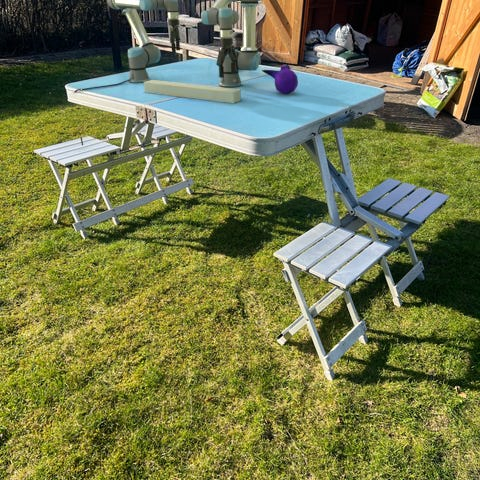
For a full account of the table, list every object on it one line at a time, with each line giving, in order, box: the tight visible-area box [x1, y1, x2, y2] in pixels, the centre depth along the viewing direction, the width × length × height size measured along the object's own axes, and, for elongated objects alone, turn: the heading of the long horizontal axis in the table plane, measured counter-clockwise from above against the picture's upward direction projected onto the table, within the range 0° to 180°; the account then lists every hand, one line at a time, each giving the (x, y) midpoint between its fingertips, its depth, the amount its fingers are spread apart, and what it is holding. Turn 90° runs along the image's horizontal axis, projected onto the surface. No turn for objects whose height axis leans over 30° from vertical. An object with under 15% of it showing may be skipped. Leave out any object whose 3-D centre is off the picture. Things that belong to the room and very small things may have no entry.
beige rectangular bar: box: [143, 79, 242, 104], centre depth 292 cm, size 71×9×7 cm, turn 59°
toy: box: [261, 64, 299, 95], centre depth 294 cm, size 16×18×27 cm
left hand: (176, 51), depth 323 cm, fingers open, 13 cm apart
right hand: (227, 75), depth 273 cm, fingers open, 13 cm apart
